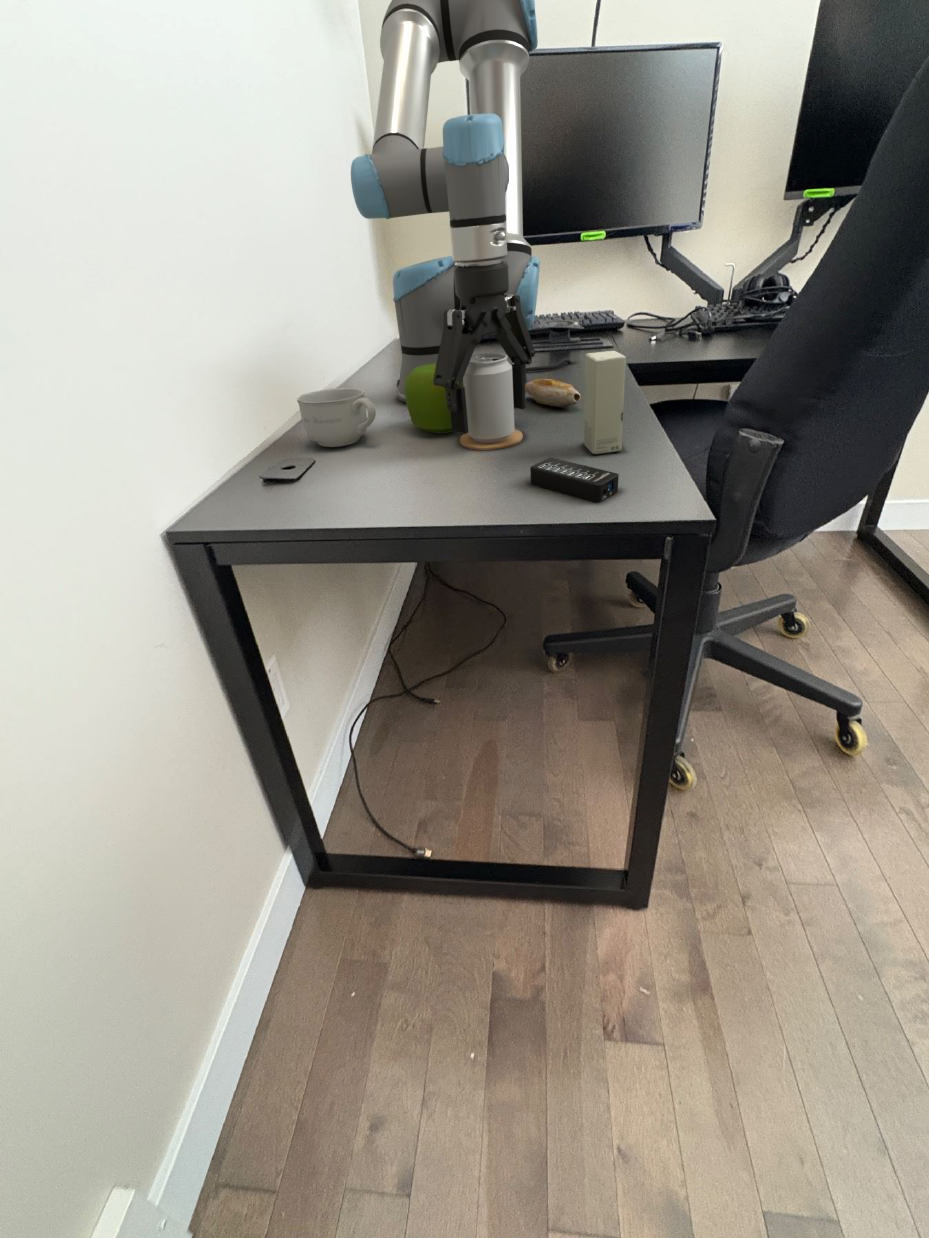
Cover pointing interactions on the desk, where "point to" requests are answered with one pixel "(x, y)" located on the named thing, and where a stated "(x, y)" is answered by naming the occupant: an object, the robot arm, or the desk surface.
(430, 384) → the apple
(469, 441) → the coaster
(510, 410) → the can
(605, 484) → the multiport hub
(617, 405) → the box
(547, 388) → the beige elongated hollow pod
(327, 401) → the teacup
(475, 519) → the desk surface
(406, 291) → the robot arm
